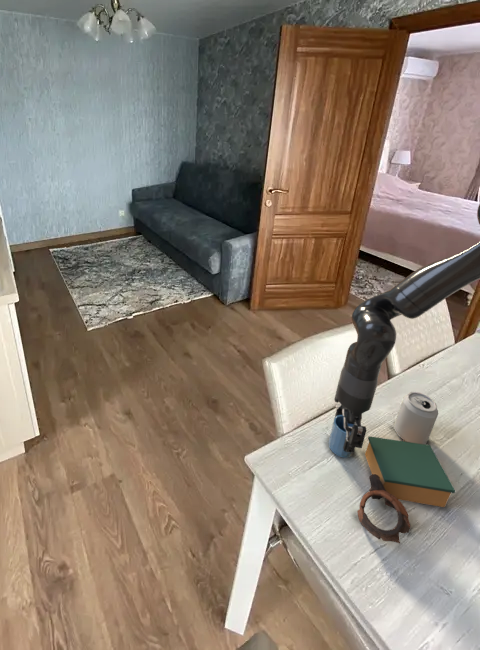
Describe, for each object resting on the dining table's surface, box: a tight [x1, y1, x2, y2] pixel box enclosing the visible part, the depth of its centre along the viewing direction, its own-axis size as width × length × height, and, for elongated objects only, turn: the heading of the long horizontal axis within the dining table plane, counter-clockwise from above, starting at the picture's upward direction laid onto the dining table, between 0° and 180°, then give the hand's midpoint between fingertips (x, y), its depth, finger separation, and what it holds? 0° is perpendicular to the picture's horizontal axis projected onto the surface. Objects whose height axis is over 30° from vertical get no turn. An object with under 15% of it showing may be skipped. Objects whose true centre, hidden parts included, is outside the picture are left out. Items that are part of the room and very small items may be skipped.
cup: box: [327, 415, 355, 459], centre depth 86 cm, size 6×6×8 cm
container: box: [364, 435, 456, 508], centre depth 79 cm, size 14×11×6 cm
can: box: [393, 391, 439, 445], centre depth 88 cm, size 8×8×12 cm
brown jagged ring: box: [356, 473, 411, 544], centre depth 72 cm, size 12×10×8 cm
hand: (343, 435), depth 86 cm, fingers open, 8 cm apart
